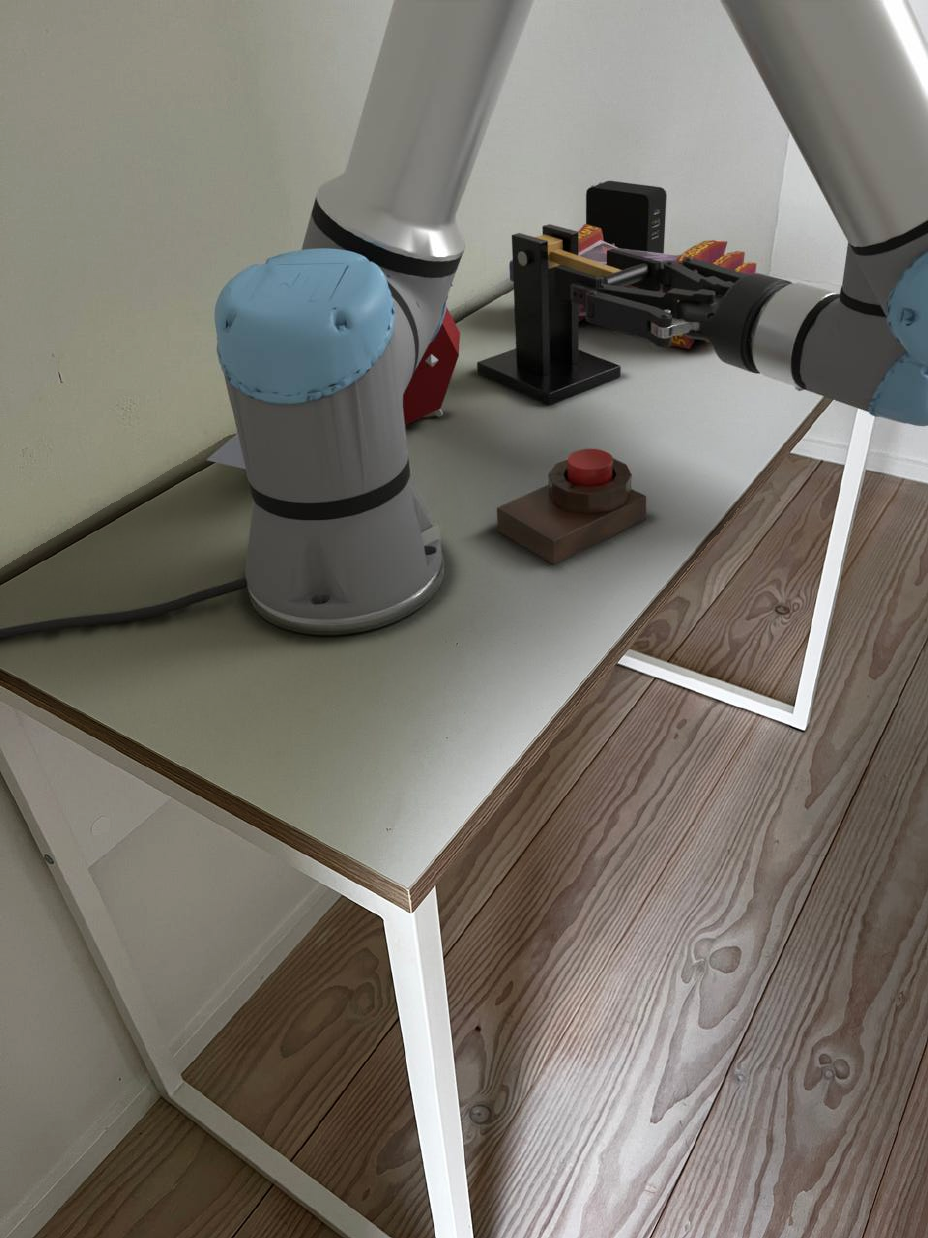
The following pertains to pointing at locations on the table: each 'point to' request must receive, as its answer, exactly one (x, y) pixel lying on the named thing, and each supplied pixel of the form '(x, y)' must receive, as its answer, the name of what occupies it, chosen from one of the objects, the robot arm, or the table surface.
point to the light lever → (593, 265)
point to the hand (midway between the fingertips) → (584, 271)
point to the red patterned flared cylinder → (704, 251)
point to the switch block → (572, 513)
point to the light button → (590, 467)
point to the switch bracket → (545, 330)
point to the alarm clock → (433, 373)
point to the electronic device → (628, 214)
